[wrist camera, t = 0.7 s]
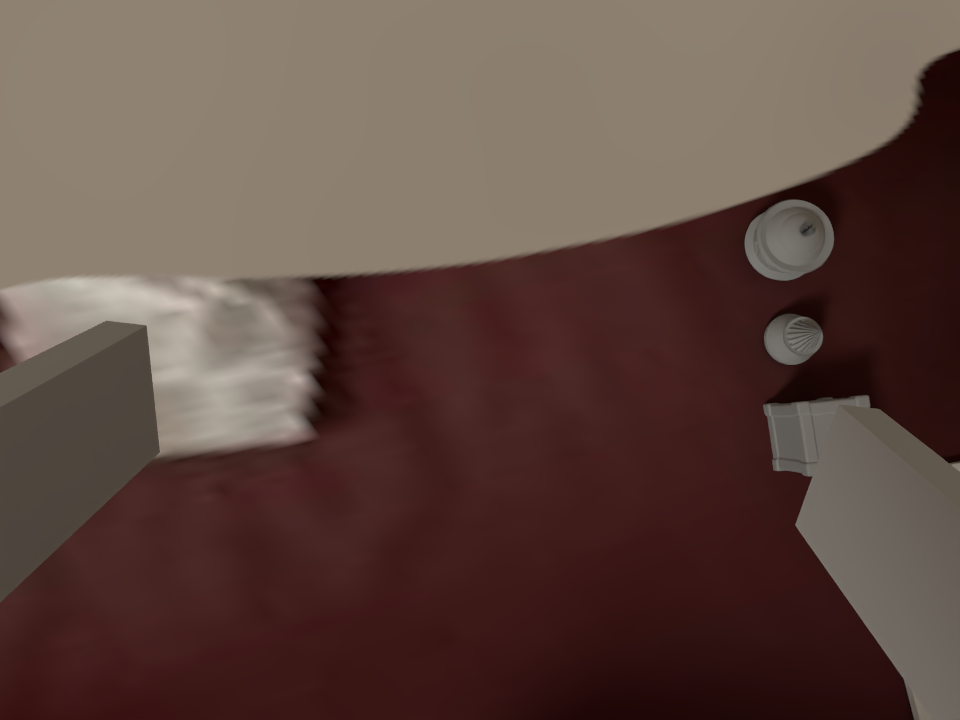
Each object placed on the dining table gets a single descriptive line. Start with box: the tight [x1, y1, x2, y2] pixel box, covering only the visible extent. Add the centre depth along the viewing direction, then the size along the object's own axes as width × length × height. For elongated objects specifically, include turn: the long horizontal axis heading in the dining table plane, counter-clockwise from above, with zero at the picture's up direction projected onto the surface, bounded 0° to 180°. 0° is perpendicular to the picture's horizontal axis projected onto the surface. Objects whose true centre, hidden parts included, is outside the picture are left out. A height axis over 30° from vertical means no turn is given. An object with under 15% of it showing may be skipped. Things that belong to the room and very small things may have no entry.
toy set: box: [745, 200, 870, 476], centre depth 27 cm, size 12×3×4 cm, turn 6°
